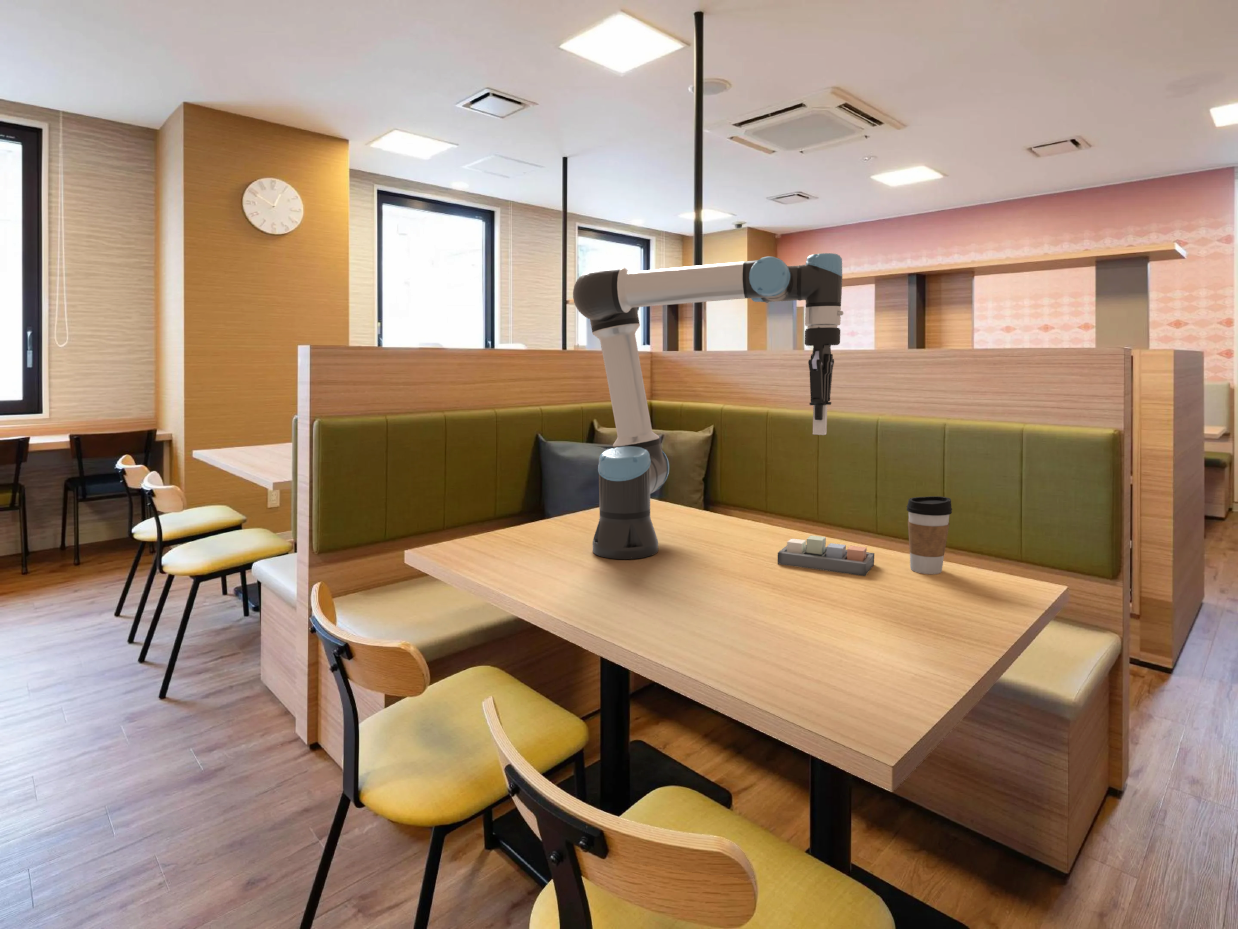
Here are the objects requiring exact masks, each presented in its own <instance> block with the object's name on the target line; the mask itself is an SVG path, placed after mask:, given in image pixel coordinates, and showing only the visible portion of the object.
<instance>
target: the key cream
mask: <svg viewBox="0 0 1238 929" xmlns="http://www.w3.org/2000/svg"><path fill="white" fill-rule="evenodd" d="M806 545H807V539H800V538H797V539H796V538H790V539H789V540H787V541H786V546H787V552H791V553H799V554H801V553H803V552H804V551H805V550H806Z"/></svg>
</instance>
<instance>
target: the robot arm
mask: <svg viewBox="0 0 1238 929" xmlns="http://www.w3.org/2000/svg"><path fill="white" fill-rule="evenodd" d="M842 289H843V258H842V257H841V255H839V254H838V253H834V252H833V253H832V252H831V253H827V252H823V253H817V254H816V253H814V254H813V253H812V254H810V255H808V256H807V258H806V262H805V264H802V265H788V264H786V262H785V261H783V260H782V259H780V258H777V257H775V256H764V257H761V258H760V259H756V260H749V261H735V262H733V261H732V262H725V263H724V262H723V263H713V264H702V265H700V264H699V265H690V266H689V265H688V266H680V267H669V268H659V269H648V270H637V271H629V270H628V269H627V268H625V267H616V268H601V267H600V268H599V267H598V268H591V269H588V270H586V271H585V272H583V273H582V274H580V276H578V278H577V279H576V281H575V283H574V286H573V291H572V298H573V299H572V300H573V303H574V306H575V307H576V309H577V311H578V312H579V314H581V315H582V316H583V317H584V318H587V319H588V320H589V322H590V327H591V333H592V335H593V336H594V337H596V338H597V339H599V341H600V348H601V353H602V357H603V358H602V360H603V363H604V370H605V373H606V381H607V386H608V390H609V391H608V392H609V397H610V401H611V407H612V413H613V418H614V424H615V430H616V436H617V437H616V440H615V441H614V443H613V444H612V448H607V449H605V450H604V451H603V452H602V453H601V454H600V455H599V458H598V465H597V472H598V493H599V494H598V495H599V496H598V500H599V501H598V502H599V504H598V505H599V506H598V507H599V519H598V523H597V526H596V529H595V532H594V534H593V535H594V536H593V539H592V552H593V554H595V555H596V556H598V557H602V558H606V559H612V560H613V559H614V560H633V559H634V560H635V559H642V558H648V557H651V556H653V555H656V554H657V553H658V551H659V540H658V536H657V534H656V530H655V528H654V524H653V522H652V518H651V495H652V494H653V493H655V492H657V491H658V490H660V488H662V486H663V485H665V482H666V481H667V479H668V476H669V473H670V462H669V459H668V457H667V455H666V453H665V452H664V451H663V450H662V444H661V438H660V436H659V435H658V434H657V433H655V432H654V431H653V427H652V422H651V417H650V411H649V406H648V401H647V394H646V390H645V389H646V388H645V383H644V378H643V371H642V366H641V360H640V354H639V350H638V349H639V348H638V343H637V338H636V332H637V331H638V329H639V328H640V325H641V324H640V318H639V311H640V308H642V307H654V306H655V307H656V306H669V305H683V304H691V303H692V304H693V303H695V304H696V303H706V302H719V301H729V300H731V301H733V300H743V299H745V300H746V299H751V301H753V302H755V303H766V304H767V303H769V302H770V303H771V302H774V303H775V302H791V301H792V302H793V301H805V308H804V311H805V312H804V313H805V314H804V326H805V327H807V328H806V329H805V330H804V345H805V346H806V347H807V346H808V347H810V346H811V347H813V348H812V353H811V354H810V359H808V362H807V364H808V369H809V370H808V371H809V387H810V388H809V390H810V402H809V405H810V406H813V407H812V410H813V411H812V435H813V436H814V435H815V436H816V435H818V436H825V435H827V426H828V406H831V405H832V401H831V392H832V382H833V381H832V380H833V371H834V365H835V359H834V355H833V353H832V352H831V351H832V348H831V346H839V345H840V344H841V329H840V328H839V327H838V326H840V325H841V321H842V320H841V319H842V318H841V316H843V315H844V311H843V310H841V309H842V297H843V296H842V294H843V293H842V292H843V290H842Z"/></svg>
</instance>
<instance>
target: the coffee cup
mask: <svg viewBox="0 0 1238 929" xmlns="http://www.w3.org/2000/svg"><path fill="white" fill-rule="evenodd" d="M906 511H907V512H908V520H907V527H908V528H907V529H908V543H909V544H908V546H909V547H908V549H909V567H910V570H911V571H912V572H915V573H918V574H922V575H923V574H924V575H938V574H941V573H942V571H943V566H944V558H945V552H946V546H947V540H948V534H949V528H950V522H949V520H950V515H951V514H952V513H953V508H952V499H951V497H946V496H938V495H936V496H933V495H932V496H917V497H916V496H915V497H911V498H908V502H907V505H906Z"/></svg>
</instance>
